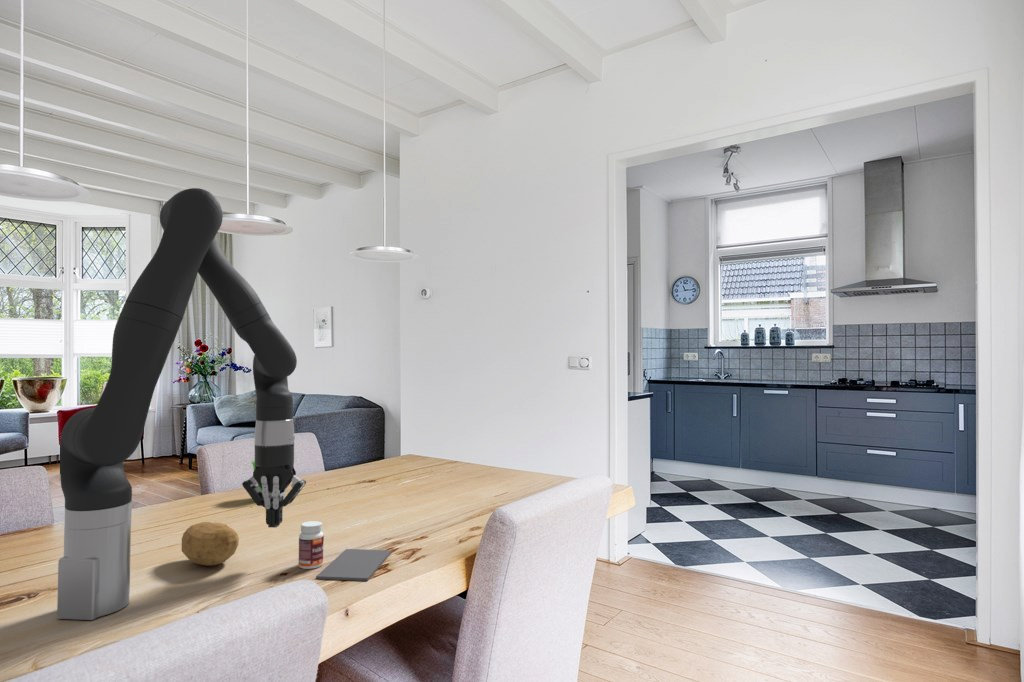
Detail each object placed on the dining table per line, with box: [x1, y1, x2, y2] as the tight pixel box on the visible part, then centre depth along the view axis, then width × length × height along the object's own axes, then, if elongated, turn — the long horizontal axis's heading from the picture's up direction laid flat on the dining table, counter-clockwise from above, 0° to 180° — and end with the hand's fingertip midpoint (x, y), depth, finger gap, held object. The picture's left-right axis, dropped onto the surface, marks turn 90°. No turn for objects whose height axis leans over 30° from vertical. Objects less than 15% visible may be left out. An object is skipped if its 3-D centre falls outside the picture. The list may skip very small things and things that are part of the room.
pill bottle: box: [298, 520, 325, 570], centre depth 120 cm, size 5×5×8 cm
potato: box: [181, 521, 240, 567], centre depth 120 cm, size 10×14×8 cm
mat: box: [315, 548, 392, 582], centre depth 120 cm, size 16×10×1 cm, turn 176°
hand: (274, 526), depth 121 cm, fingers closed
